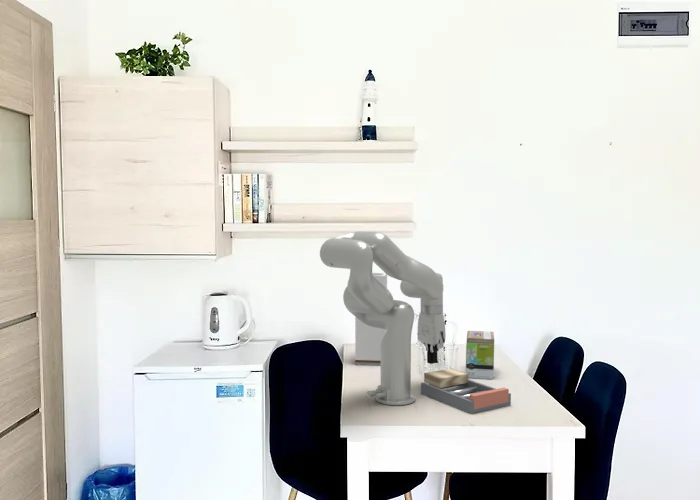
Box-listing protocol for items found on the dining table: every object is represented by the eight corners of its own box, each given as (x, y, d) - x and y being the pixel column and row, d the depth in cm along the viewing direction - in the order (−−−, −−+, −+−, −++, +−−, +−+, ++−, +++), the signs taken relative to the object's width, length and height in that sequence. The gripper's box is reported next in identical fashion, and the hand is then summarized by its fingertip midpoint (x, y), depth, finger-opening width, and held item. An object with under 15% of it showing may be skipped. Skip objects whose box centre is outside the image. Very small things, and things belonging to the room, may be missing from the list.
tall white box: (386, 359, 250) (387, 273, 248) (384, 366, 240) (384, 275, 237) (358, 358, 252) (358, 272, 250) (355, 365, 241) (355, 275, 239)
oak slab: (439, 388, 198) (439, 378, 198) (424, 382, 205) (424, 373, 205) (468, 382, 204) (468, 373, 204) (452, 377, 211) (452, 368, 211)
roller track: (471, 414, 183) (471, 402, 182) (421, 393, 203) (421, 382, 203) (510, 405, 191) (510, 393, 191) (458, 386, 211) (458, 376, 211)
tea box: (494, 379, 220) (494, 338, 219) (465, 378, 222) (465, 337, 221) (493, 369, 235) (493, 330, 234) (466, 368, 237) (466, 329, 236)
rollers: (471, 407, 185) (471, 401, 185) (426, 389, 204) (426, 383, 204) (501, 400, 192) (501, 394, 192) (454, 383, 210) (454, 378, 210)
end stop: (474, 409, 183) (474, 396, 183) (469, 407, 185) (469, 394, 185) (508, 401, 190) (508, 389, 190) (503, 400, 192) (503, 387, 192)
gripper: (409, 307, 215) (410, 359, 216) (437, 314, 202) (437, 369, 203) (426, 305, 218) (427, 356, 220) (454, 311, 206) (455, 365, 207)
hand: (432, 362), depth 212 cm, fingers closed
